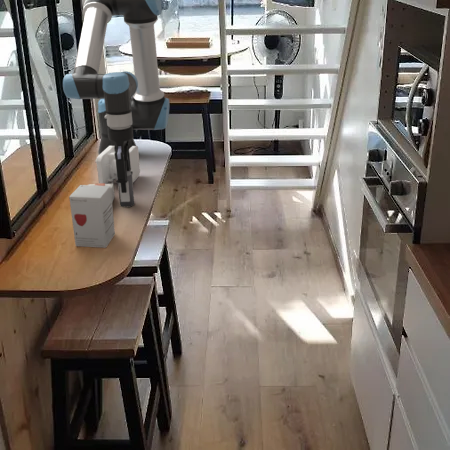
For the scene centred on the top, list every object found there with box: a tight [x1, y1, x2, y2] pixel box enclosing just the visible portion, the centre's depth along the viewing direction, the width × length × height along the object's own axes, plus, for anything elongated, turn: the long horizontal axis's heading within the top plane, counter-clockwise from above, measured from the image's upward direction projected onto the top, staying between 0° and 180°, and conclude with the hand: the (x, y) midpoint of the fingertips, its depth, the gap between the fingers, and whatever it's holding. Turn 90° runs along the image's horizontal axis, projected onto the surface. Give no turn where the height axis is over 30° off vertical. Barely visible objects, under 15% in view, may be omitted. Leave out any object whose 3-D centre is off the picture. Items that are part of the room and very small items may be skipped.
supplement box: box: [68, 184, 116, 249], centre depth 167 cm, size 9×9×15 cm
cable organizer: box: [95, 145, 141, 184], centre depth 208 cm, size 15×11×12 cm
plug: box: [116, 171, 135, 208], centre depth 191 cm, size 5×5×10 cm
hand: (126, 197), depth 192 cm, fingers closed on plug, 4 cm apart
